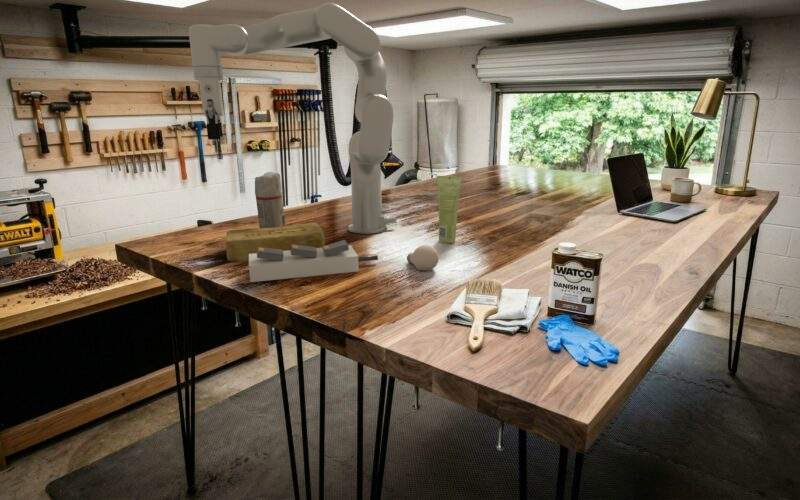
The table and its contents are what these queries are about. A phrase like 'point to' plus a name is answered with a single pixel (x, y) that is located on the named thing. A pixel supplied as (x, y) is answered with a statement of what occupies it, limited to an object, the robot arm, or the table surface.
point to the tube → (448, 206)
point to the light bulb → (424, 257)
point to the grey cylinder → (269, 200)
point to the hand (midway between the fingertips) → (215, 137)
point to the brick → (271, 239)
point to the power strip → (304, 265)
